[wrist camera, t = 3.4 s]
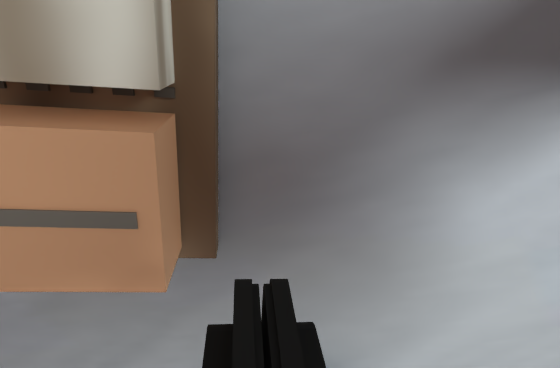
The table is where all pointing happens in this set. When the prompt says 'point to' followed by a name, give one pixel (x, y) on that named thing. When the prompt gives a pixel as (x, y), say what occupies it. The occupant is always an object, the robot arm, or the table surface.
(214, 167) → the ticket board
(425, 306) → the table surface
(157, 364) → the table surface
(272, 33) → the table surface
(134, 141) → the tan box with slot
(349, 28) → the table surface
